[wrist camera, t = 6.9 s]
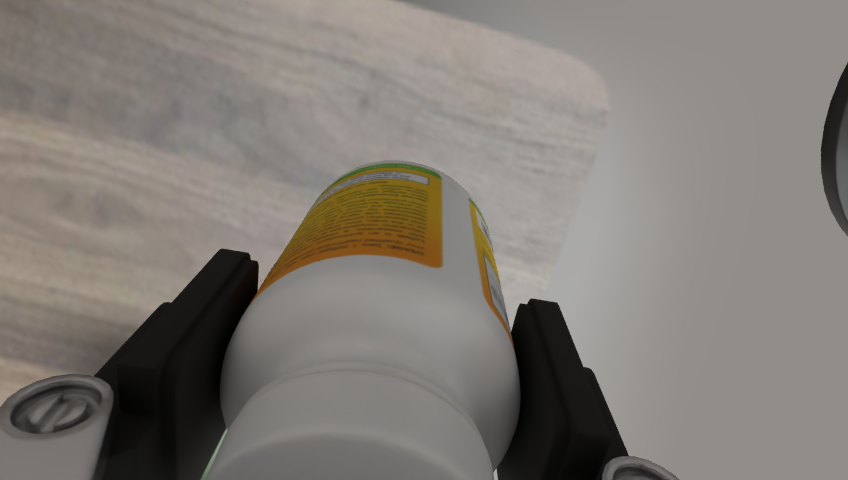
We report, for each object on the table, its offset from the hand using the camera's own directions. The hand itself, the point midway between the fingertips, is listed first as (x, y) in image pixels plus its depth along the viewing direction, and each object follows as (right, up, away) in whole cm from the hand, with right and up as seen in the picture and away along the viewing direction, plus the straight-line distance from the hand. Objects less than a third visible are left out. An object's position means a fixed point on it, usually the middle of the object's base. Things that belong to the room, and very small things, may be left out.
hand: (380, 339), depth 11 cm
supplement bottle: (0, +2, +5) cm, 5 cm away
